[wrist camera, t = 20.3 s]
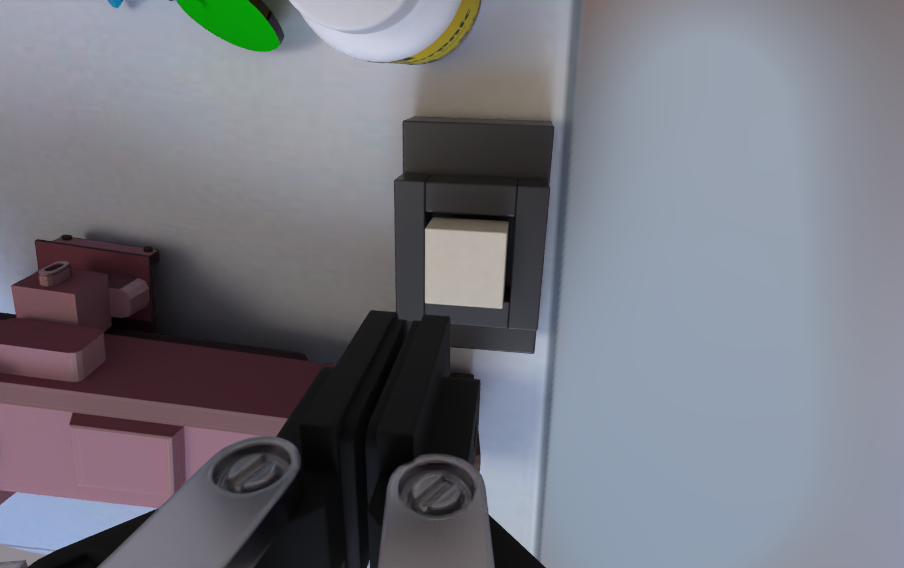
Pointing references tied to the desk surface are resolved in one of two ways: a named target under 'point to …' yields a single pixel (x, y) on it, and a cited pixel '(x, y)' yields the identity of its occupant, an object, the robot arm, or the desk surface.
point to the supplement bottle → (391, 27)
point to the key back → (465, 262)
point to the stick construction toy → (234, 21)
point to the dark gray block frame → (476, 197)
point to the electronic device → (124, 383)
